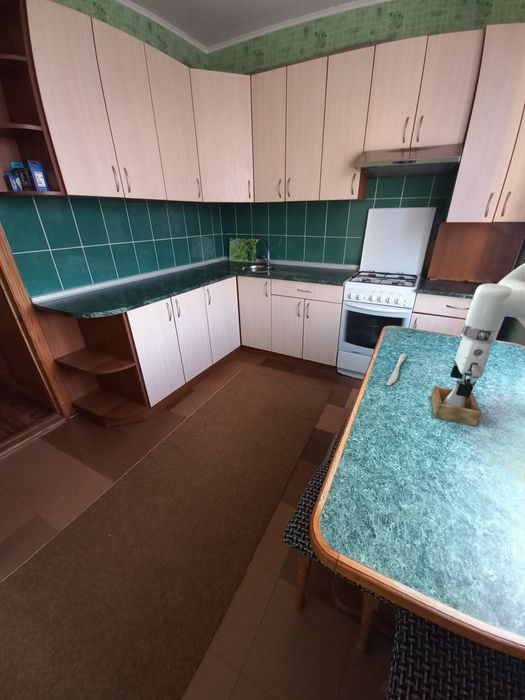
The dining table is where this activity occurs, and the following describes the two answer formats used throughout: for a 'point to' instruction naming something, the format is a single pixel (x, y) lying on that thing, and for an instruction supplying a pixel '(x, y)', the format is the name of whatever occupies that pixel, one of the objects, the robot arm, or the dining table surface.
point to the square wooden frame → (452, 412)
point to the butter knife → (396, 370)
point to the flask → (455, 397)
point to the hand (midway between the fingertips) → (459, 386)
